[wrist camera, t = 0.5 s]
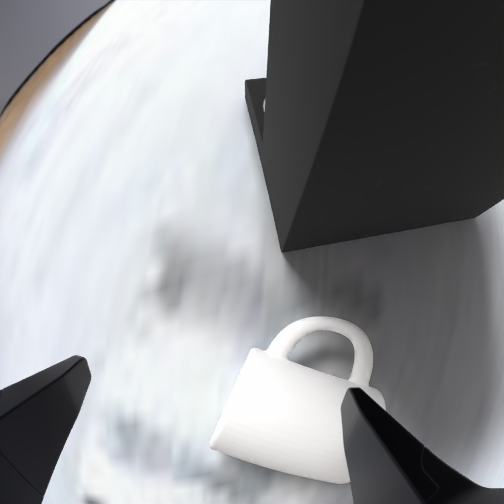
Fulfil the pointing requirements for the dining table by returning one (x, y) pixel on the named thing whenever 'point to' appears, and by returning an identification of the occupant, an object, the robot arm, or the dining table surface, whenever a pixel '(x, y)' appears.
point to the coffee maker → (379, 116)
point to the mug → (293, 406)
